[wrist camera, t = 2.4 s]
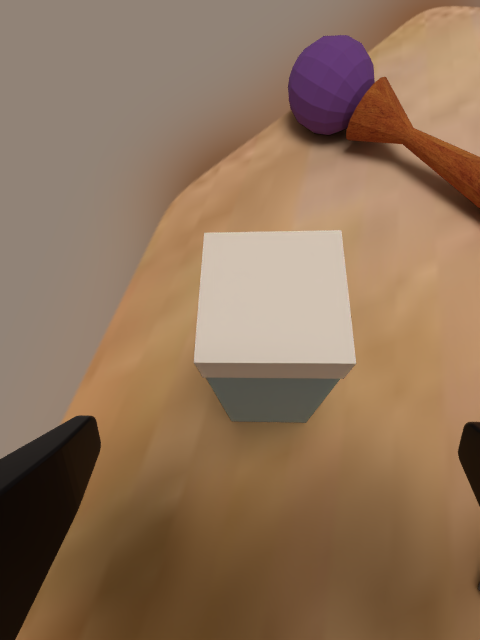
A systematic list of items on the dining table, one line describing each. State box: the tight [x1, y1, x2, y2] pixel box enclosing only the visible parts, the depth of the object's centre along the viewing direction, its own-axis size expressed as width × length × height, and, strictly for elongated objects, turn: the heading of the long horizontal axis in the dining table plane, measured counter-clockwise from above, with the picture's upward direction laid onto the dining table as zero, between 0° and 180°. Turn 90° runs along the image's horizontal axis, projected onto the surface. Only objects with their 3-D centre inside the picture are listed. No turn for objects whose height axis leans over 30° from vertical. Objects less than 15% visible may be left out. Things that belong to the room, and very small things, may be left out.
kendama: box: [288, 35, 480, 209], centre depth 24 cm, size 6×6×20 cm
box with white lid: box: [194, 230, 356, 423], centre depth 15 cm, size 4×4×11 cm
